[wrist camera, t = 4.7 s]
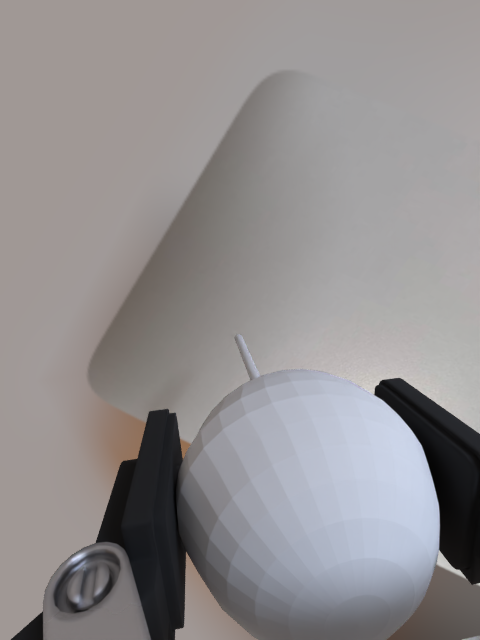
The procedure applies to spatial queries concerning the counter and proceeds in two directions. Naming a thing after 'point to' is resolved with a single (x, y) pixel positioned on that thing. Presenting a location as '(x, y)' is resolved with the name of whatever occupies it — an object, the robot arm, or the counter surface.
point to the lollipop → (309, 508)
